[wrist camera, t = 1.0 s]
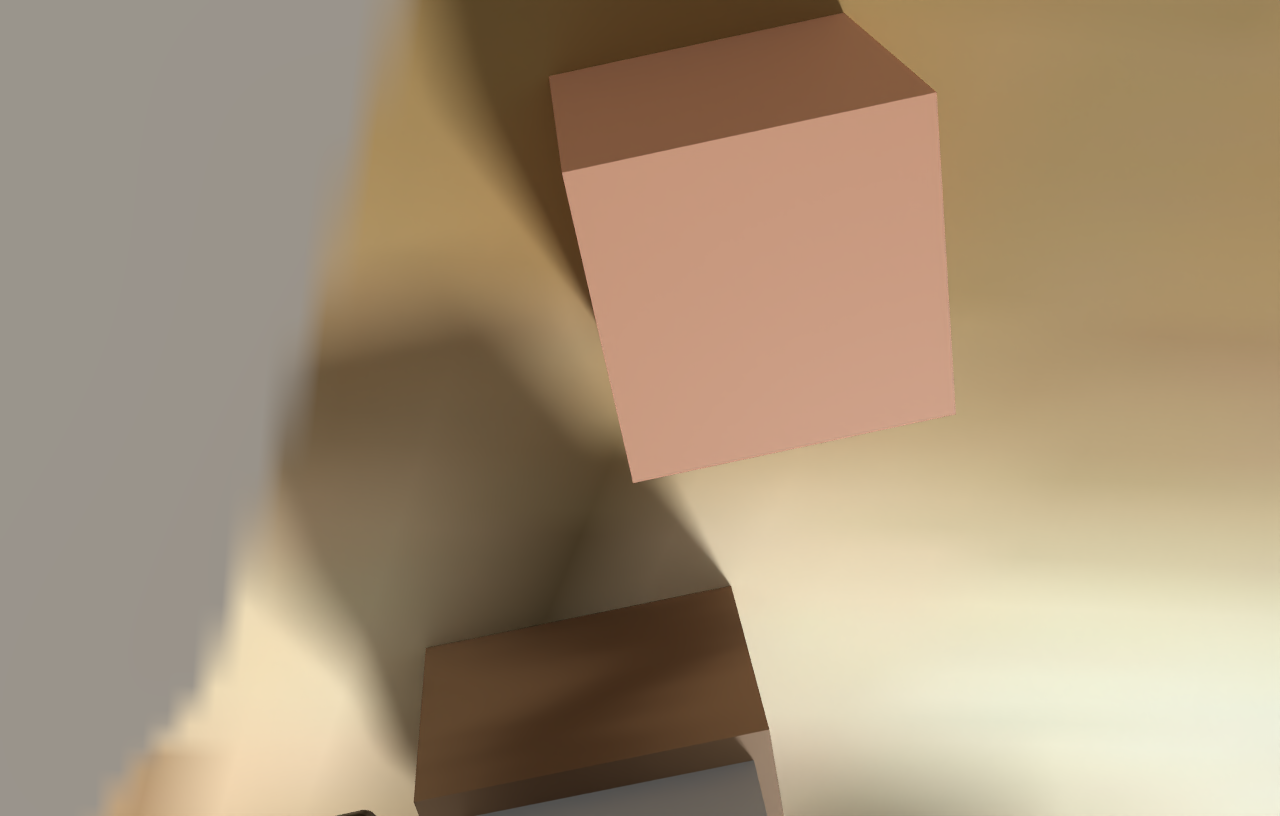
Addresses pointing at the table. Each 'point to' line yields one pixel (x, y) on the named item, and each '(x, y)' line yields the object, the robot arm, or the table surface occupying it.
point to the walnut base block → (590, 707)
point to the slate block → (665, 797)
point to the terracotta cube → (760, 242)
